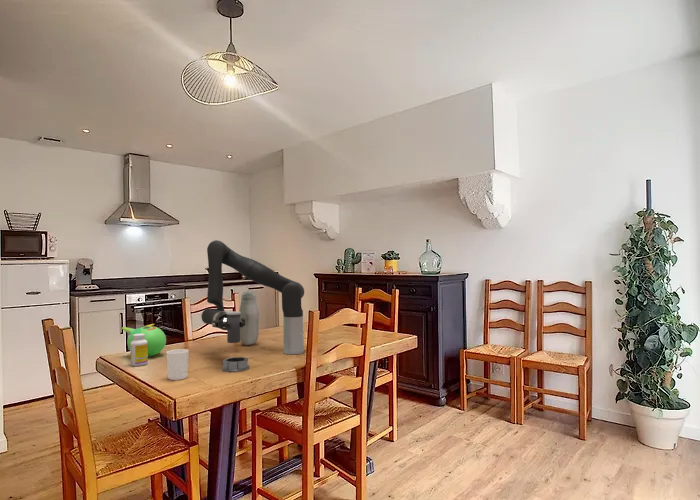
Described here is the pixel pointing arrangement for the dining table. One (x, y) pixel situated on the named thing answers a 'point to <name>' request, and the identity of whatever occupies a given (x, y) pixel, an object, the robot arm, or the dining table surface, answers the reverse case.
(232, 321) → the white-topped grey cylinder
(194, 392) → the dining table surface
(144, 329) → the toy bird
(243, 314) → the grey bottle
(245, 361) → the octagonal ring holder
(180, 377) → the white cup
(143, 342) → the supplement bottle
